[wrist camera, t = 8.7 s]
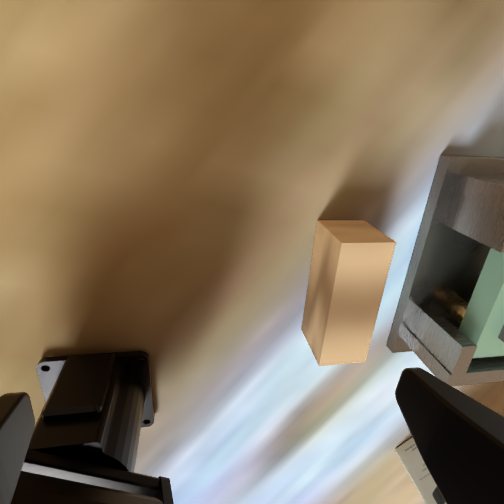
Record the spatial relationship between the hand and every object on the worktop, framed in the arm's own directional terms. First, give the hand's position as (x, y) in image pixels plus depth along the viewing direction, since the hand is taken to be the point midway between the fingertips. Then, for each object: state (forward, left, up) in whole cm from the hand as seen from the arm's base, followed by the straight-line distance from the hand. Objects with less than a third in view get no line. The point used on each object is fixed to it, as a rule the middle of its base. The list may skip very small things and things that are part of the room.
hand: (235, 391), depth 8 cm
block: (-4, -8, -12) cm, 15 cm away
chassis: (-3, -19, -12) cm, 23 cm away
